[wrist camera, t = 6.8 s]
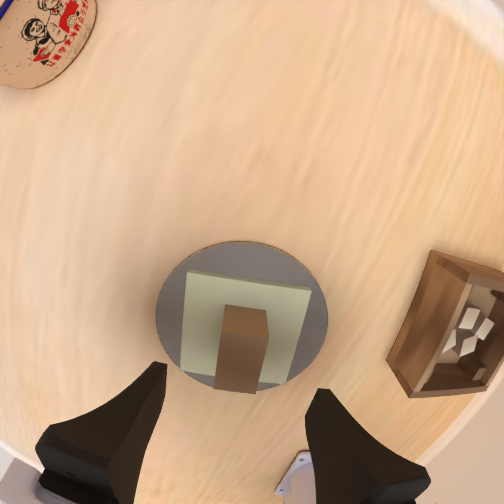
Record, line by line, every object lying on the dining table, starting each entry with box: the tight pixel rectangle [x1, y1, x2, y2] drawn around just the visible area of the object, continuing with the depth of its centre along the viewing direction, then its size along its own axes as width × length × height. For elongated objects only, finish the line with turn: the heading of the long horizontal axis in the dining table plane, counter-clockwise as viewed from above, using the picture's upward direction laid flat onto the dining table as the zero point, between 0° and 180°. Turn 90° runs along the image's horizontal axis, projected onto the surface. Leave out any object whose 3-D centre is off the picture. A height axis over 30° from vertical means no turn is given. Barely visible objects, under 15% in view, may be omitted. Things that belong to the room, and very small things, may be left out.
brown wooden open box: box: [386, 250, 504, 398], centre depth 17 cm, size 9×9×4 cm
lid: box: [180, 269, 312, 394], centre depth 17 cm, size 7×7×4 cm
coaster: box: [156, 241, 328, 391], centre depth 19 cm, size 11×11×1 cm
